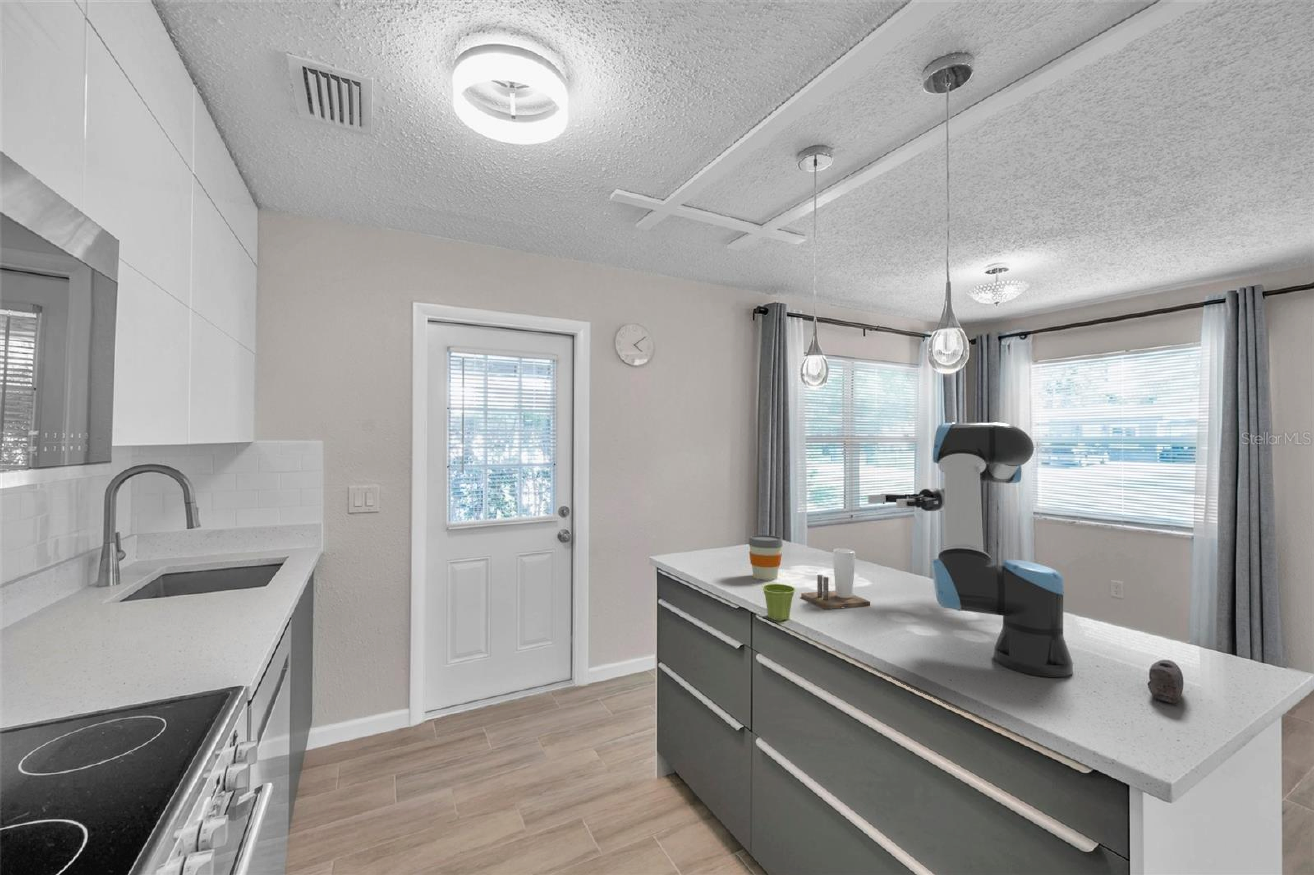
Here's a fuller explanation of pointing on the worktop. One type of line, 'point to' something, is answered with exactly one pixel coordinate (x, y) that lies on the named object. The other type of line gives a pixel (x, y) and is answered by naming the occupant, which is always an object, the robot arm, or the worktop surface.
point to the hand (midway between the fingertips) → (882, 501)
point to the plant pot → (778, 600)
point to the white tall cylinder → (844, 572)
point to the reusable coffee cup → (765, 556)
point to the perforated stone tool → (1166, 681)
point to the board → (831, 597)
